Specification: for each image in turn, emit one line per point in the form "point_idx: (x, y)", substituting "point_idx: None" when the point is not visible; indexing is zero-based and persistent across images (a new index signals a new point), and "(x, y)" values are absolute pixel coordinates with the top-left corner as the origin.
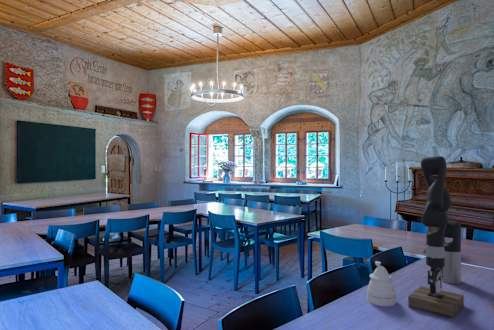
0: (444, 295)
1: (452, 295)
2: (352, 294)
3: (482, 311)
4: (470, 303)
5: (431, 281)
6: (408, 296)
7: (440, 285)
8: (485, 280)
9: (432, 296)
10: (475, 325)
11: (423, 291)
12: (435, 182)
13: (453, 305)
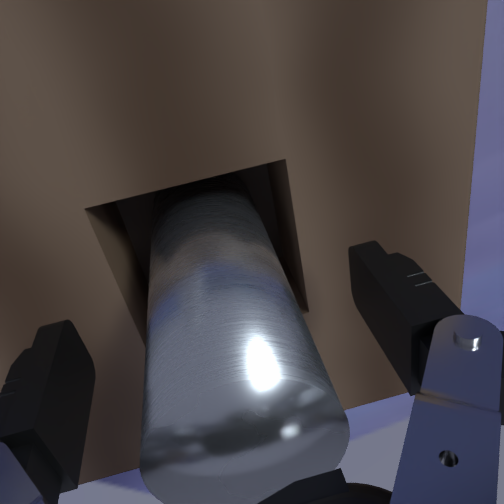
0: (306, 304)
1: (361, 347)
2: None
3: (382, 403)
4: (489, 306)
5: (143, 418)
6: None
7: (373, 329)
8: None
9: (151, 250)
10: (114, 485)
11: (214, 71)
12: None
13: (90, 478)
